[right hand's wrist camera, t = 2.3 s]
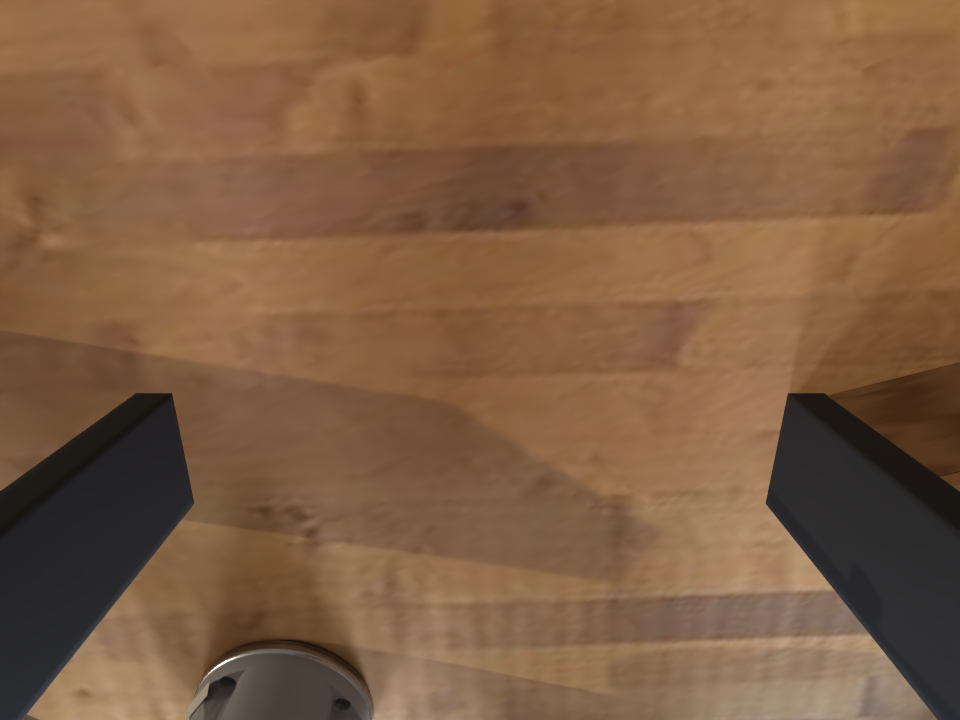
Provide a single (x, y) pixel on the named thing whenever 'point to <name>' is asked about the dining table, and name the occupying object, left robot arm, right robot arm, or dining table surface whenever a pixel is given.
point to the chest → (914, 415)
